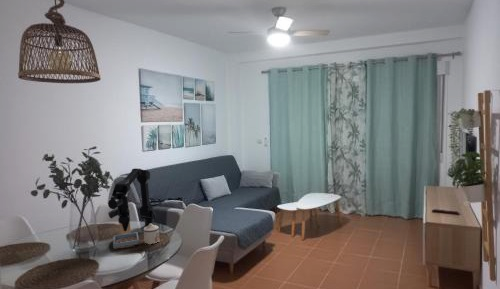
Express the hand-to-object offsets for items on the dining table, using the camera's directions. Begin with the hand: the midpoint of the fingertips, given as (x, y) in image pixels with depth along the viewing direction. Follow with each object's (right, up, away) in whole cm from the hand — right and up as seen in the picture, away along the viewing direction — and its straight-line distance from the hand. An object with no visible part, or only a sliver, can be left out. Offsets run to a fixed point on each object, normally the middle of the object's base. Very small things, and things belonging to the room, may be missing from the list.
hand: (125, 229), depth 201 cm
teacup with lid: (+16, -8, +2) cm, 18 cm away
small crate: (0, -2, 0) cm, 2 cm away
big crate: (0, -9, +1) cm, 9 cm away
